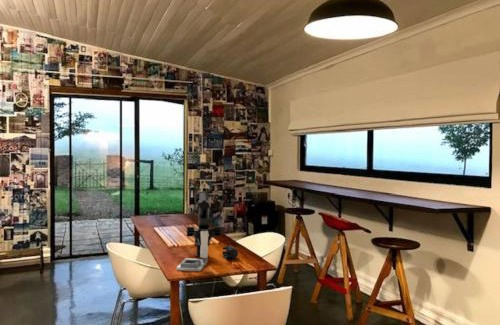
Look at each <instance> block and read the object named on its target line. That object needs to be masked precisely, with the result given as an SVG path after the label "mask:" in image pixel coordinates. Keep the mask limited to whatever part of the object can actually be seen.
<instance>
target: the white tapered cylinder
mask: <svg viewBox="0 0 500 325" xmlns="http://www.w3.org/2000/svg"><path fill="white" fill-rule="evenodd" d="M208 236H209V233H208V231H206V230H203V231H201V246H200V256H199V257H200V259H203V258H207V259H208V257H209V256H208V255H209V246H208Z"/></svg>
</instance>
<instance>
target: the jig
mask: <svg viewBox="0 0 500 325" xmlns="http://www.w3.org/2000/svg"><path fill="white" fill-rule="evenodd" d="M208 260H209V259H208V257H207V258H190V257H189V258H187V257H185V258H184V259H183V260H182V261H181V262H180V263H179V264H178V265H177V266H176V268H175V270H176V271H184V272H185V271H187V272H188V271H189V272H201V271H202V270H203V269H204V267H205V266H206V265H207V263H208Z"/></svg>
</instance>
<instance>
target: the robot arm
mask: <svg viewBox="0 0 500 325" xmlns="http://www.w3.org/2000/svg"><path fill="white" fill-rule="evenodd" d="M194 203H195V207H196V211H197V212H198V214H197V216H198V220H197V221H198V222H197V223H198V227H197V228H195V227H194V226H187V227H186V237H193V238H194V246H195V247H196V254H194V256H195V257H200V246H201V231H203V230H206V231H208V247H209V246H211V245H210V242H211V240H212V238H214V237H220V236H221V235H222V227H221V226H213V228H210V225H211V224H213V217H212V216H211V217H209V214H210V210H211V209H212V205H211V204H210V203H209V194H208V193H207V192H206V191H198V192H197V193H196V194H195V195H194Z"/></svg>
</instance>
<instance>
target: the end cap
mask: <svg viewBox="0 0 500 325" xmlns="http://www.w3.org/2000/svg"><path fill="white" fill-rule="evenodd" d="M222 250H224V251H222V257H223V259H225V260H226V261H233V260H235V259H236V258H237V257H238V256H239V251H238V249H237V248H235V247H234V246H233V245H232V244H228V246H226V245H225V246H222Z"/></svg>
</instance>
